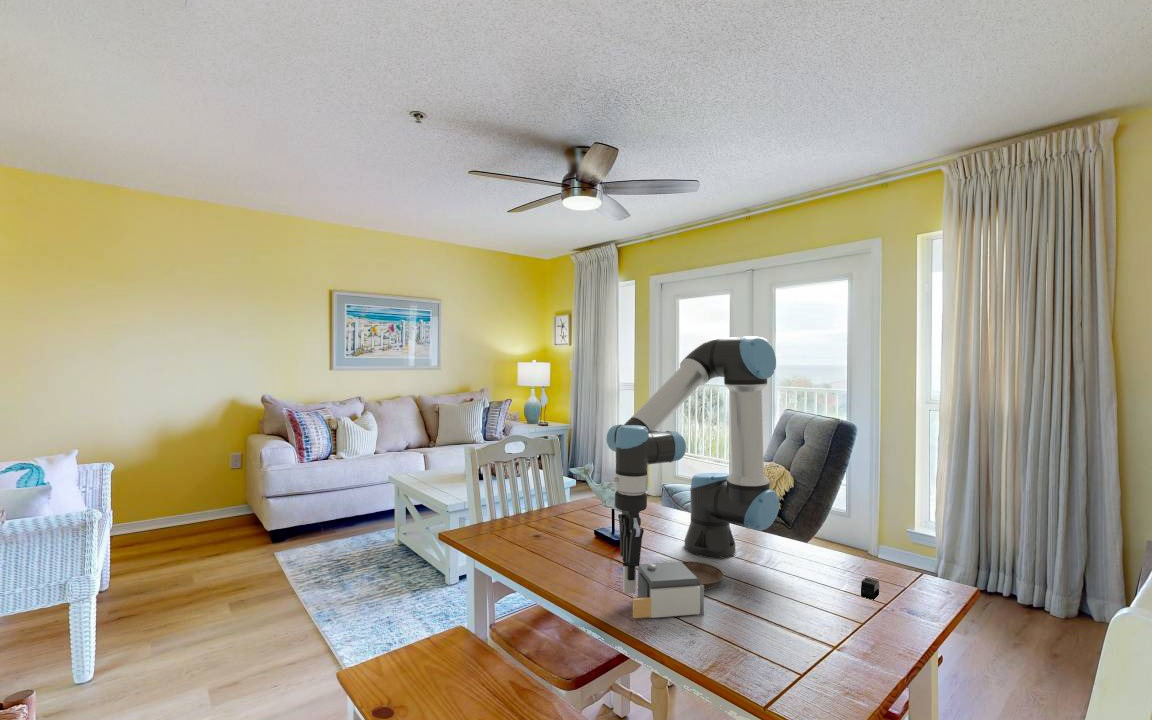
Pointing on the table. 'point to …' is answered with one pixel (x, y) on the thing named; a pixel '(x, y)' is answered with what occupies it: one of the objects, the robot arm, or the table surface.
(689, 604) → the light grey flat piece
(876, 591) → the black block
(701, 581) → the saucer
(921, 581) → the table surface
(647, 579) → the grey box with knob
